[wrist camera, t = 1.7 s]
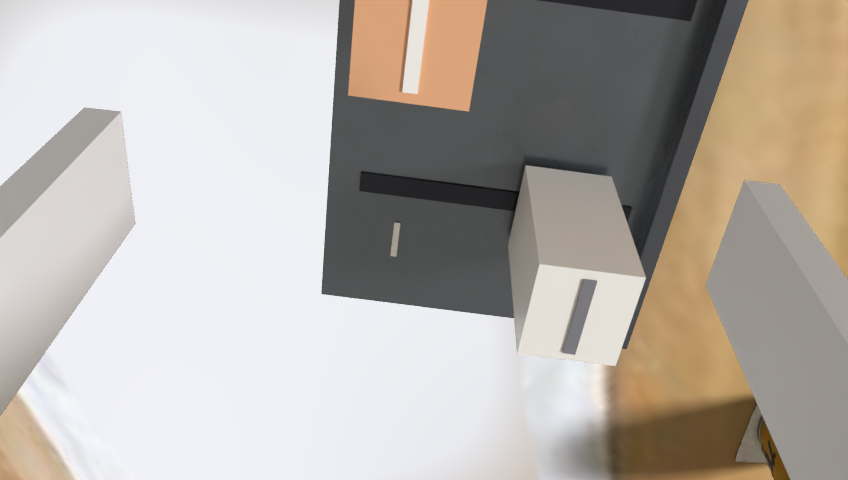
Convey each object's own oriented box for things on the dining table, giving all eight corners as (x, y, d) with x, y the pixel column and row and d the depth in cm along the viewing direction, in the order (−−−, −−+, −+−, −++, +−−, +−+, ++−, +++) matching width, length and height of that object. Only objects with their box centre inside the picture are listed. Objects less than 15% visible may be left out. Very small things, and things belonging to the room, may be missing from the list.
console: (358, -244, 28) (349, -243, 26) (785, -181, 28) (810, -176, 26) (324, 282, 41) (317, 310, 39) (618, 319, 41) (626, 349, 39)
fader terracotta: (382, -91, 29) (357, -43, 23) (485, -77, 30) (491, -25, 23) (372, 22, 32) (347, 96, 25) (468, 35, 32) (468, 112, 25)
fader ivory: (525, 165, 35) (539, 265, 28) (611, 176, 35) (646, 279, 28) (508, 244, 37) (517, 355, 31) (588, 255, 37) (616, 367, 31)
